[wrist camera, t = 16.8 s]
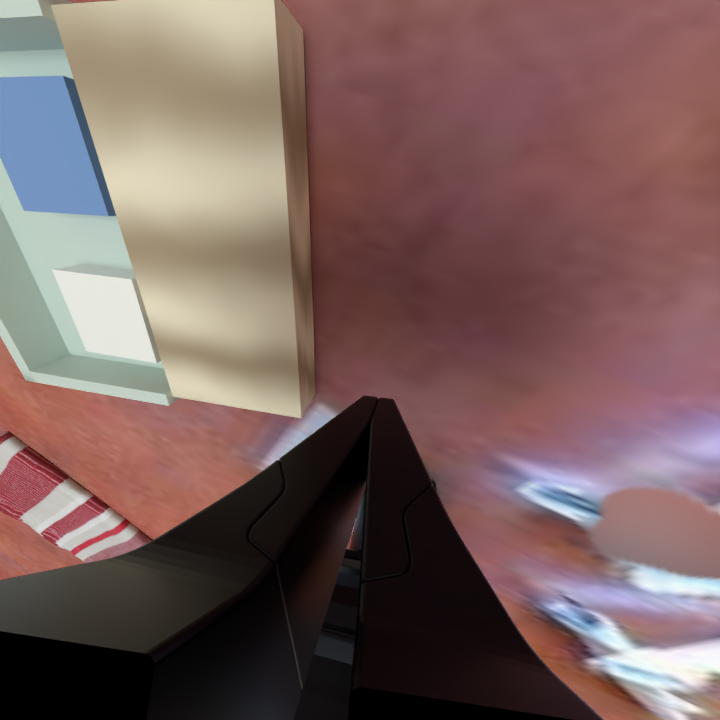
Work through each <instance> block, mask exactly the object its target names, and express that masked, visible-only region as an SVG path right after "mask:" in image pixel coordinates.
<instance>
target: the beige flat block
mask: <svg viewBox="0 0 720 720" xmlns="http://www.w3.org/2000/svg"><path fill="white" fill-rule="evenodd" d="M51 8H52V11H53V14H54V17H55V20H56V24H57V27H58V30H59V33H60V36H61V40H62V43H63V46H64V49H65V53H66V56H67V59H68V62H69V65H70V69H71V72H72V75H73V78H74V81H75V85H76V88H77V91H78V94H79V97H80V101H81V104H82V107H83V110H84V113H85V117H86V120H87V123H88V126H89V130H90V133H91V136H92V139H93V142H94V146H95V149H96V152H97V155H98V158H99V162H100V165H101V168H102V171H103V174H104V178H105V181H106V184H107V187H108V191H109V194H110V197H111V200H112V203H113V207H114V210H115V213H116V216H117V219H118V223H119V226H120V229H121V232H122V235H123V239H124V242H125V245H126V248H127V252H128V255H129V258H130V261H131V264H132V268H133V271H134V274H135V277H136V280H137V284H138V287H139V290H140V293H141V296H142V300H143V303H144V306H145V309H146V312H147V316H148V319H149V322H150V325H151V329H152V332H153V335H154V338H155V341H156V345H157V348H158V351H159V354H160V357H161V361H162V364H163V367H164V370H165V373H166V377H167V380H168V383H169V386H170V390H171V393H172V396H173V397H179V398H185V399H191V400H197V401H202V402H208V403H214V404H220V405H226V406H232V407H237V408H243V409H249V410H255V411H261V412H267V413H273V414H278V415H284V416H290V417H296V418H302V417H303V415H304V413H305V412H306V410H307V408H308V406H309V405H310V403H311V401H312V400H313V398H314V396H315V395H316V384H315V355H314V326H313V298H312V269H311V240H310V211H309V182H308V153H307V125H306V96H305V67H304V38H303V29H302V28H301V26H300V25H299V24H298V22H297V21H296V20H295V18H294V17H293V16H292V14H291V13H290V12H289V10H288V9H287V8H286V6H285V5H284V4H283V2H282V1H281V0H119V1H103V2H88V3H73V4H58V5H51Z"/></svg>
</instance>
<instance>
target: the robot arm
mask: <svg viewBox="0 0 720 720" xmlns="http://www.w3.org/2000/svg"><path fill="white" fill-rule="evenodd" d="M279 460H280V461H279ZM279 460H277V461H275V462H274V463H273V464H271V465H270V466H269V467H267V468H266V469H265V470H263V471H262V472H260V473H259V474H258V475H256V476H255V477H253V478H252V479H250V480H249V481H248V482H246V483H245V484H243V485H242V486H240V487H239V488H237V489H235V490H234V491H232V492H231V493H229V494H228V495H226V496H225V497H223V498H221V499H220V500H218V501H217V502H215V503H213V504H212V505H210V506H208V507H207V508H205V509H204V510H202V511H200V512H199V513H197V514H195V515H194V516H192V517H191V518H189V519H187V520H186V521H184V522H182V523H181V524H179V525H178V526H176V527H174V528H173V529H171V530H169V531H168V532H166V533H165V534H163V535H161V536H160V537H158V538H156V539H154V540H153V541H151V542H149V543H147V544H145V545H143V546H141V547H139V548H137V549H134V550H132V551H129V552H127V553H124V554H121V555H118V556H115V557H112V558H108V559H103V560H99V561H94V562H89V563H84V564H79V565H74V566H69V567H64V568H58V569H53V570H48V571H43V572H38V573H33V574H28V575H23V576H18V577H13V578H8V579H3V580H0V720H604V719H602V718H601V717H600V716H599V715H598V714H597V713H596V712H595V711H594V710H593V709H592V708H591V707H590V706H588V705H587V704H586V703H585V702H584V701H583V700H582V699H581V698H580V697H579V696H578V695H577V694H575V693H574V692H573V691H572V690H571V689H570V688H569V687H568V686H567V685H566V684H565V683H564V682H562V681H561V680H560V679H559V678H558V677H557V676H556V675H555V674H554V673H553V672H552V671H551V670H550V669H549V668H548V667H547V665H546V664H545V663H544V662H543V661H542V660H541V659H540V658H539V656H538V655H537V654H536V653H535V651H534V650H533V649H532V648H531V647H530V645H529V644H528V643H527V641H526V640H525V639H524V637H523V636H522V634H521V633H520V632H519V630H518V629H517V627H516V625H515V624H514V622H513V621H512V619H511V618H510V616H509V615H508V613H507V611H506V610H505V608H504V607H503V605H502V603H501V602H500V600H499V599H498V597H497V595H496V594H495V592H494V591H493V589H492V587H491V586H490V584H489V583H488V581H487V579H486V578H485V576H484V575H483V573H482V571H481V570H480V568H479V567H478V565H477V563H476V562H475V560H474V558H473V557H472V555H471V554H470V552H469V550H468V549H467V547H466V546H465V544H464V542H463V541H462V539H461V537H460V535H459V534H458V532H457V530H456V529H455V527H454V525H453V524H452V522H451V520H450V518H449V516H448V514H447V512H446V510H445V508H444V506H443V504H442V502H441V500H440V498H439V496H438V494H437V491H436V484H435V483H434V482H433V481H431V479H430V477H429V475H428V472H427V470H426V468H425V466H424V464H423V462H422V459H421V457H420V455H419V453H418V451H417V449H416V446H415V444H414V442H413V440H412V438H411V436H410V433H409V431H408V429H407V427H406V425H405V423H404V420H403V418H402V416H401V414H400V412H399V410H398V408H397V405H396V403H395V401H394V400H393V399H389V398H379V399H378V398H377V397H372V396H363V397H361V398H360V399H359V400H357V401H356V402H355V403H353V404H352V405H351V406H349V407H348V408H346V409H345V410H344V411H342V412H341V413H340V414H338V415H337V416H336V417H334V418H333V419H332V420H330V421H329V422H328V423H326V424H325V425H324V426H322V427H321V428H320V429H318V430H317V431H316V432H314V433H313V434H312V435H310V436H309V437H308V438H306V439H305V440H304V441H302V442H301V443H300V444H298V445H297V446H296V447H294V448H293V449H292V450H290V451H289V452H288V453H286V454H285V455H284V456H282V457H281V458H280V459H279ZM355 519H356V523H355V527H354V531H353V536H352V540H351V544H350V549H346V548H347V545H348V542H349V539H350V535H351V532H352V529H353V526H354V522H355Z"/></svg>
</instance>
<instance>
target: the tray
mask: <svg viewBox="0 0 720 720" xmlns="http://www.w3.org/2000/svg"><path fill="white" fill-rule="evenodd" d="M58 4H73V2H71V1H69V0H0V77H30V76H66V77H68V78H71V79H74V78H73V75H72V72H71V69H70V65H69V62H68V59H67V56H66V53H65V49H64V46H63V43H62V40H61V36H60V33H59V30H58V27H57V24H56V20H55V17H54V14H53V11H52V8H51V5H58ZM79 264H88V265H97V266H105V267H113V268H122V269H130V270H133V268H132V264H131V261H130V258H129V255H128V252H127V248H126V245H125V242H124V239H123V235H122V232H121V229H120V226H119V223H118V219H117V216H98V215H82V214H66V213H49V212H33V211H24V210H23V208H22V205H21V203H20V201H19V199H18V196H17V194H16V192H15V190H14V187H13V185H12V183H11V181H10V178H9V176H8V174H7V172H6V169H5V167H4V165H3V163H2V160H1V158H0V336H1V338H2V340H3V342H4V343H5V345H6V347H7V348H8V350H9V352H10V354H11V355H12V357H13V359H14V361H15V362H16V364H17V366H18V367H19V369H20V371H21V373H22V374H23V376H24V378H25V380H26V381H31V382H37V383H43V384H48V385H54V386H60V387H65V388H71V389H77V390H82V391H88V392H94V393H99V394H105V395H111V396H116V397H122V398H128V399H133V400H139V401H144V402H150V403H156V404H161V405H167V406H170V405H171V404H172V403H174V402H175V401H176V400H177V399H179V397H173V396H172V393H171V390H170V386H169V383H168V380H167V377H166V373H165V370H164V367H163V364H162V361H160V362H158V363H152V362H146V361H141V360H135V359H129V358H123V357H117V356H111V355H105V354H100V353H94V352H88V351H86V349H85V347H84V344H83V342H82V340H81V337H80V335H79V332H78V330H77V328H76V325H75V323H74V321H73V318H72V316H71V314H70V311H69V309H68V306H67V304H66V302H65V299H64V297H63V295H62V292H61V290H60V288H59V285H58V283H57V280H56V278H55V276H54V273H53V271H52V269H57V268H62V267H68V266H73V265H79Z"/></svg>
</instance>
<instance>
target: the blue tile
mask: <svg viewBox="0 0 720 720" xmlns="http://www.w3.org/2000/svg"><path fill="white" fill-rule="evenodd" d="M0 158H1V160H2V163H3V165H4V167H5V169H6V172H7V174H8V176H9V178H10V181H11V183H12V185H13V187H14V190H15V192H16V194H17V196H18V199H19V201H20V203H21V205H22V208H23V210H24V211H33V212H49V213H66V214H82V215H98V216H116V213H115V210H114V207H113V203H112V200H111V197H110V194H109V191H108V187H107V184H106V181H105V178H104V174H103V171H102V168H101V165H100V162H99V158H98V155H97V152H96V149H95V146H94V142H93V139H92V136H91V133H90V130H89V126H88V123H87V120H86V117H85V113H84V110H83V107H82V104H81V101H80V97H79V94H78V91H77V88H76V85H75V81H74V79H71V78H68V77H66V76H30V77H0Z"/></svg>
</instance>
